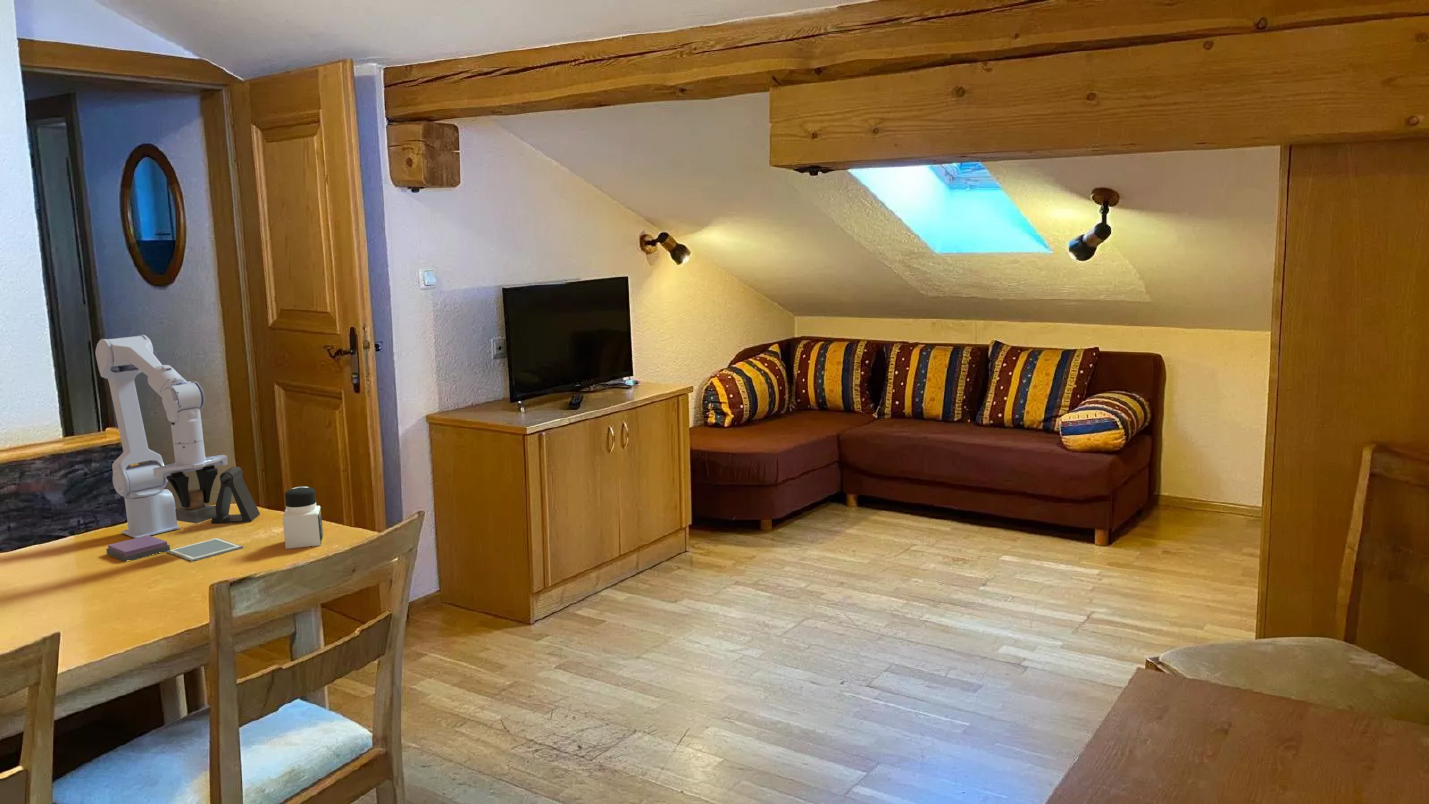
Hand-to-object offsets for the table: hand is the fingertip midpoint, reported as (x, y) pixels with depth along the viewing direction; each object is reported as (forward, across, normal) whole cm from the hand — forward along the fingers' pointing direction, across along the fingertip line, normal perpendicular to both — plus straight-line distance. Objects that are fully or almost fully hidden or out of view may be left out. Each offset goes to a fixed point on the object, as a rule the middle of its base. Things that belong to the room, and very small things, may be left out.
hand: (195, 504), depth 225 cm
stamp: (+3, 0, 0) cm, 3 cm away
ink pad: (+10, -8, +10) cm, 16 cm away
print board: (+10, +1, 0) cm, 10 cm away
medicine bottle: (+10, +16, -14) cm, 23 cm away
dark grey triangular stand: (+10, +16, +17) cm, 26 cm away
